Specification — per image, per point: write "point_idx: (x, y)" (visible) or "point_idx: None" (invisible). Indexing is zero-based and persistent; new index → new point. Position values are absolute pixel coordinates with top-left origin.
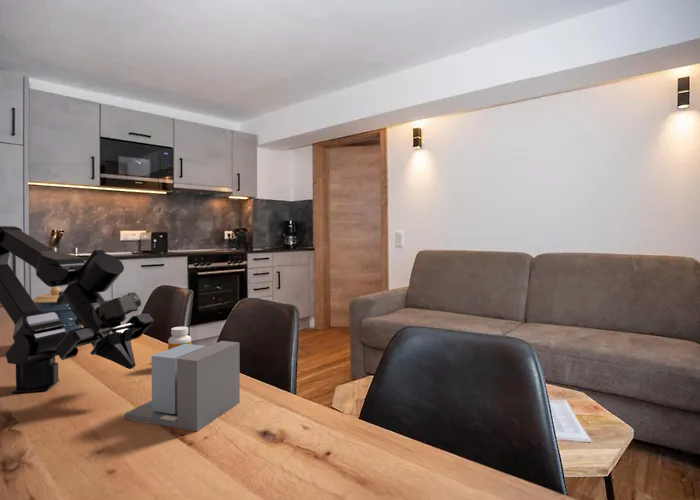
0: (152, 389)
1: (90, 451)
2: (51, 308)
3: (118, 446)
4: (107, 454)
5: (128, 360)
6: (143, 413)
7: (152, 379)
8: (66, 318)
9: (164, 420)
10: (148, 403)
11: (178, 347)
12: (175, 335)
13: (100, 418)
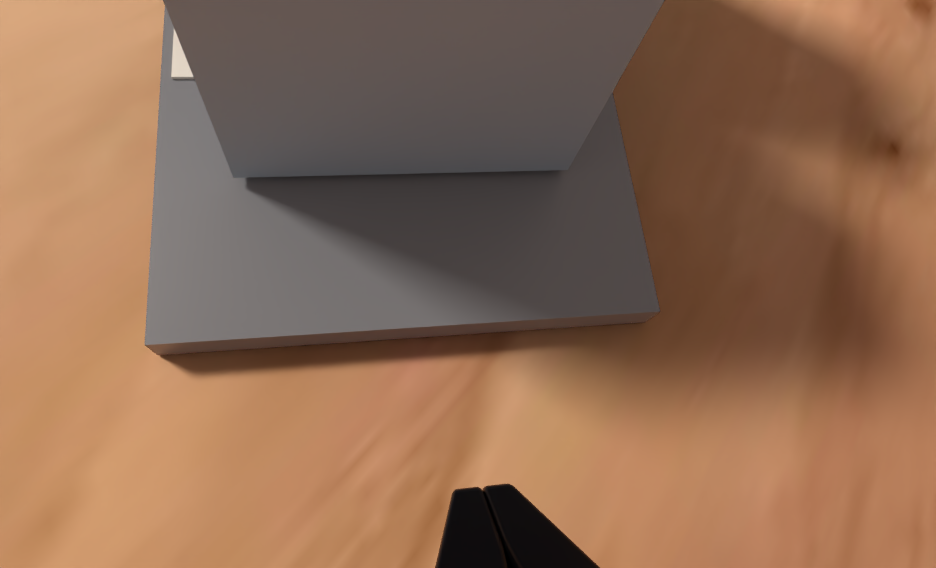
0: (616, 76)
1: (914, 183)
2: None
3: (823, 113)
4: (881, 103)
5: (557, 536)
6: (602, 205)
7: (650, 16)
8: None
9: None
10: (476, 298)
11: None
12: None
13: (715, 477)
